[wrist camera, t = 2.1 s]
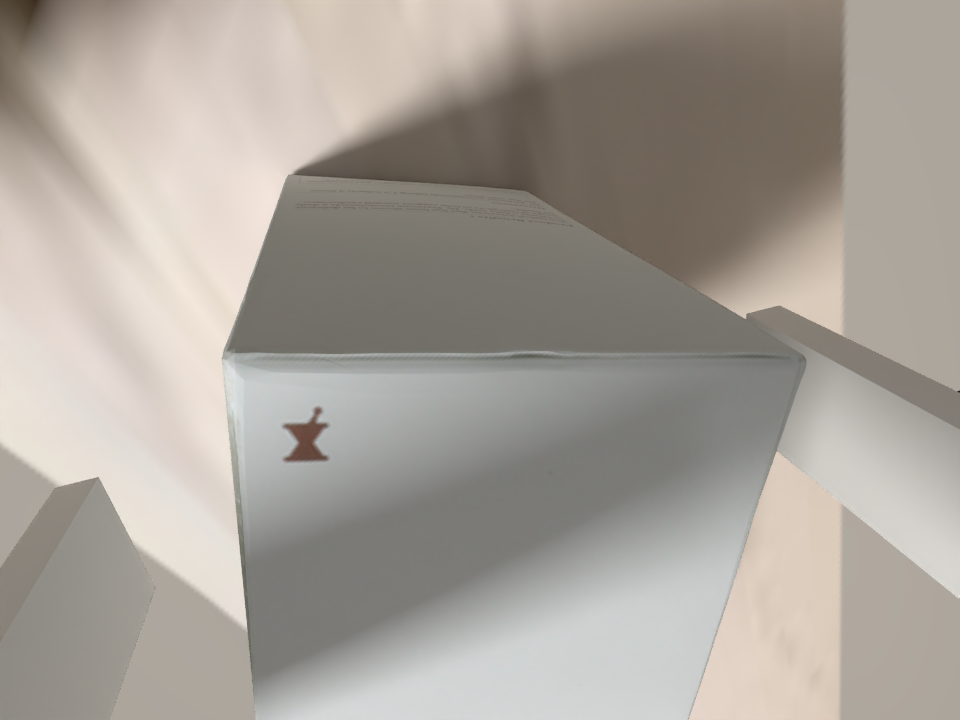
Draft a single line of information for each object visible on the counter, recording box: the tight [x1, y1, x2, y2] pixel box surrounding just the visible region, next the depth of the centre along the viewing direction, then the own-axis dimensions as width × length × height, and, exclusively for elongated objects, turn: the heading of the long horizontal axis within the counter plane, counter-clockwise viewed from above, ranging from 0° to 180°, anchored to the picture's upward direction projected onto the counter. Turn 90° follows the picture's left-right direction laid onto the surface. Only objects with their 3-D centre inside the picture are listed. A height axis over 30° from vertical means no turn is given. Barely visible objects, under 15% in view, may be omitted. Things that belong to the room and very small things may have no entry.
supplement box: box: [222, 175, 806, 720], centre depth 14 cm, size 7×7×13 cm
